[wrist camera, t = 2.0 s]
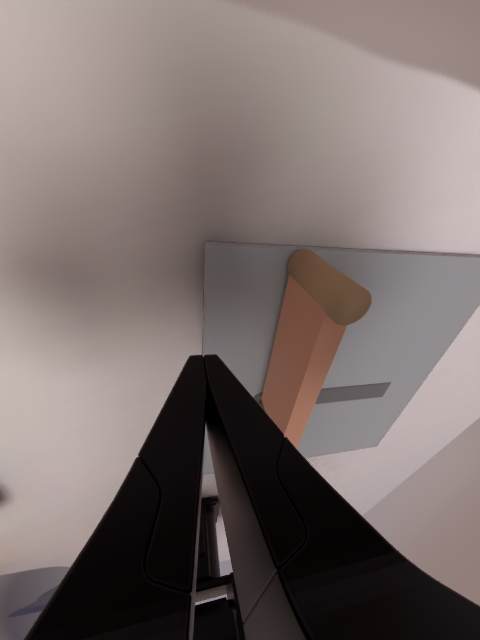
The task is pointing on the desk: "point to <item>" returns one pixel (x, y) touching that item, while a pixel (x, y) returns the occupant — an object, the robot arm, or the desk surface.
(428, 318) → the card
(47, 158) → the desk surface
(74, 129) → the desk surface
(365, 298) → the fence panel
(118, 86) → the desk surface
